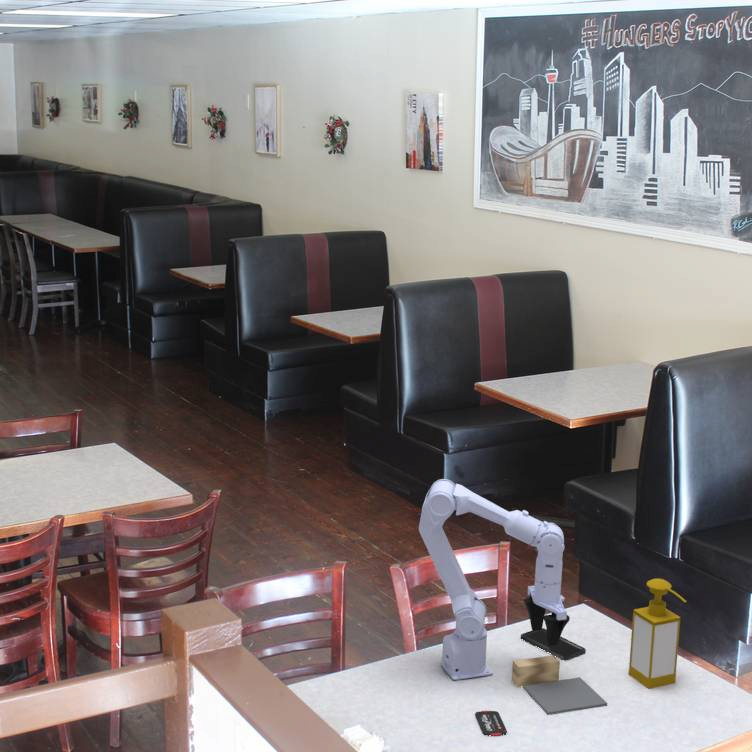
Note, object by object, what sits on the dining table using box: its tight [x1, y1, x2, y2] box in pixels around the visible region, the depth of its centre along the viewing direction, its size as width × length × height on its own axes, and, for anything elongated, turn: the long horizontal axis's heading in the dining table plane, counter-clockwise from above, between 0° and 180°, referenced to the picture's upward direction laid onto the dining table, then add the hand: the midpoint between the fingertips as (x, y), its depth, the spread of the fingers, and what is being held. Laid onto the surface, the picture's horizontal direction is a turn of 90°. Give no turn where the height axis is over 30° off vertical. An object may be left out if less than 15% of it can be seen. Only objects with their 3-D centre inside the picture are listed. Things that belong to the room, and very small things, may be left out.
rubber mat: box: [522, 676, 608, 715], centre depth 236 cm, size 14×12×1 cm
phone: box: [520, 627, 586, 662], centre depth 260 cm, size 8×1×15 cm
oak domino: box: [511, 654, 561, 688], centre depth 242 cm, size 10×3×5 cm, turn 108°
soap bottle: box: [628, 578, 687, 690], centre depth 240 cm, size 7×13×24 cm, turn 24°
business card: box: [474, 710, 508, 737], centre depth 224 cm, size 10×1×5 cm
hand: (544, 637), depth 243 cm, fingers open, 7 cm apart
